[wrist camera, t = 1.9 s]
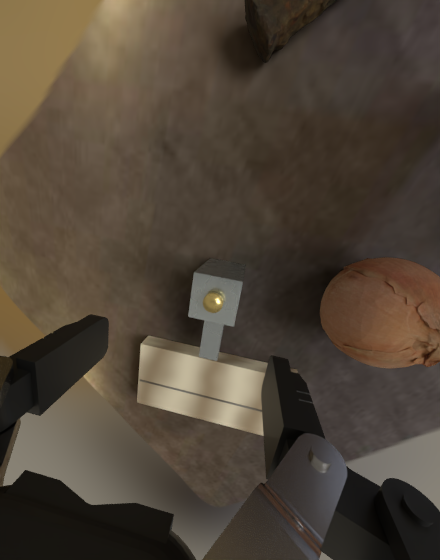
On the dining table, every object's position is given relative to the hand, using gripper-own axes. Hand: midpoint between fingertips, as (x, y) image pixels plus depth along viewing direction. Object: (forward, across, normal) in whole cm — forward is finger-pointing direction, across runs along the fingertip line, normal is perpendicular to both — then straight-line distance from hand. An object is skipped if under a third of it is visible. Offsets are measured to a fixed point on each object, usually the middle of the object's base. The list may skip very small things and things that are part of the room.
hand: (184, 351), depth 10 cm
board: (+15, -1, +14) cm, 20 cm away
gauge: (+15, 0, +3) cm, 15 cm away
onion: (+15, -14, -1) cm, 21 cm away
